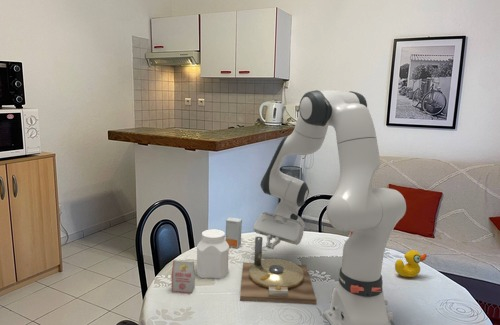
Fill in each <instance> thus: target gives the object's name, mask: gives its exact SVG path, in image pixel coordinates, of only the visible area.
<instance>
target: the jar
mask: <svg viewBox="0 0 500 325" xmlns="http://www.w3.org/2000/svg"><path fill="white" fill-rule="evenodd" d="M225 236H226V232H225V231H223V230H222V229H221V230H220V229H214V228H212V229H205V230H204V231H202V232H201V240H200V241H199V242H198V243H197V246H196V275H197V276H198V277H199V278H201V279H216V280H220V279H223V278H225V277H227V276H228V274H229V255H230V253H229V252H230V247H229V245H228V243H227V242H226V240H225Z"/></svg>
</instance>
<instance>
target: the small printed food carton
mask: <svg viewBox="0 0 500 325" xmlns="http://www.w3.org/2000/svg"><path fill="white" fill-rule="evenodd" d="M171 269H172V270H171V292H172V293H181V294H182V293H183V294H193V292H194V290H195V286H196V281H195V280H196V270H195V262H194V261H189V260H188V261H186V260H173V261H172V268H171Z"/></svg>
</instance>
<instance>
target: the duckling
mask: <svg viewBox="0 0 500 325" xmlns="http://www.w3.org/2000/svg"><path fill="white" fill-rule="evenodd" d="M403 258H404V259H405V261H406V262H407V263H405V264H404V261H403V260H402V259H397V260H396V261H395V264H394V270H395V271H396V273H397V274H398V275H399V276H401V277H404V278H414V277H416V276H417V275H419V274H420V272H421V266H420V264H419V263H420V262H424V261H425V260H426V258H427V253H424V254H422V255H421V253H420V252H418V251H417V250H413V249H411V250H409V251H407V252H405V254H404V257H403Z"/></svg>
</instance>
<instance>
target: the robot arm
mask: <svg viewBox="0 0 500 325" xmlns="http://www.w3.org/2000/svg"><path fill="white" fill-rule="evenodd" d="M298 105H299V106H298V112H299V114H298V116H297V119H296V121H295V126H294V129H293V131H292V132H291V134H289V135H285V136H284V137H283V138H282V139H281V141H280V142H279V143H278V146H277V147H276V150H275V151H274V154H273V156H272V158H271V160H270V163H269V164H268V167H267V168H266V171H265V172H264V174H263V176H262V178H261V179H260V188H261V190H262V192H263V193H264V194H266V195H269V196H273V197H275V198H278V199H280V202H279V203H278V204H277V205H276V207H275V209H274V211H273V213H270V212H267V211H266V212H265V211H264V212H262V213H260V214H259V216H258V218H257V219H256V221H255V223H254V224H253V226H252V228H253V229H252V230H253V231H254V232H255V233H256V234H259V235H262V236H265V237H266V244H265V247H266V248H268V249H271V250H274V249H275V247H276V246H277V245H279V244H280V243H281V241H283V242H286V243H288V244H292V245H295V246H297V245H300V244H301V242H302V239H303V236H304V229H305V227H306V224H305V222H304V220H303V218H302V217H301V216H299V215H298V214H299V210H300V208H301V207H302V206H303V205H305V203H306V201H307V200H308V199H307V198H308V197H309V194H310V189H309V186H308V184H307V183H306V182H305V181H303V180H301V179H299V178H297V177H294V176H292V175H289V174H286V173H283V172H282V171H281V170H280V169H281V166H282V164H283V163H284V160H285V159H286V157H288V156H308V155H311V154H314V153H316V152H318V151H319V150H320V149H321V148H322V146H323V143H324V140H325V138H326V136H327V131H328V128H329V127H330V126H331V127H333V128H334V131H335V136H336V146H337V152H338V153H337V154H338V160H339V178H338V183H337V187H336V190H335V191H334V194H333V195H332V196H331V198H330V199H328V202H327V205H326V215H327V216H326V217H327V220H328V222H329V223H330V225H331V226H332V227H333V228H334V229H335V230H337V231H343V232H351V231H354V232H353V234H352V235H351V236H349V237H348V238H347V239H346V240H345V242H344V244H343V248H342V259H341V266H340V268H339V273H338V284H337V285H336V286H335V287H334V288H332V289H333V290H332V295H331V300H330V301H331V302H330V308H328V309H326V310H325V311H324V316H325V318H326V319H327V321H328V323H329V324H330V325H392V324H391V321H393V316H394V315H393V312H392V311H390V310H387V306H388V305H389V304H388V303H389V302H388V300H387V299H385V295H384V290H383V275H382V269H383V268H382V267H383V263H384V262H383V261H384V260H383V259H384V255H385V250H386V247H387V245H388V242H389V240H390V237H391V235H392V233H393V230H394V228H395V227H396V225H397V224H398V223H399V221H400V220H401V219H403V217H404V216H405V215H406V212H407V204H406V203H407V202H406V198H404V195H403V194H402V193H401V192H400V191H398V190H396V189H394V188H388V187H382V186H381V187H375V188H374V187H373V188H372V186H373V178H374V177H375V174H376V173H377V171H379V169H380V167H381V157H380V152H379V151H380V150H379V143H378V139H377V132H376V129H375V128H376V127H375V125H374V121H373V119H372V115H371V113H370V110H369V108H368V102H367V99H366V97H365V96H364V95H363V94H362V93H358V92H356V91H352V90H351V91H347V90H346V91H344V90H337V89H326V90H318V89H317V90H311V91H308V92H305V93H304V95H302V97H301V99H300V101H299V104H298ZM273 239H274V241H273V242H271V241H272V240H273Z"/></svg>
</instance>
